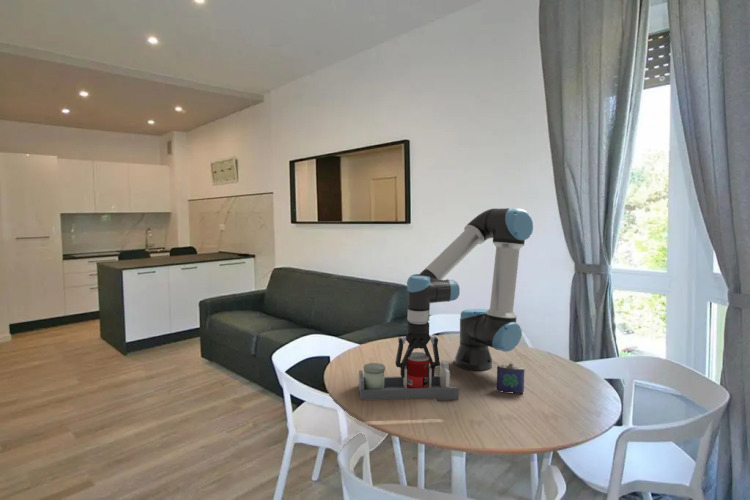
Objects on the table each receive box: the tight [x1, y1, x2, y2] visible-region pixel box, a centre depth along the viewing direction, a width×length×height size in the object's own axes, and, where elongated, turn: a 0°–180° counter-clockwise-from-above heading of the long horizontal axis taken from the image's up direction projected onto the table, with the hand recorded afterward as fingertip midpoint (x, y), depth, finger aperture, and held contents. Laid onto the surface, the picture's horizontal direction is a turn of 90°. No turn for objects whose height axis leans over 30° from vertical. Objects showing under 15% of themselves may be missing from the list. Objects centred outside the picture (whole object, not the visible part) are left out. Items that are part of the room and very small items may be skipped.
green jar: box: [363, 362, 386, 390], centre depth 147 cm, size 7×7×9 cm
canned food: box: [406, 351, 430, 388], centre depth 148 cm, size 8×8×11 cm
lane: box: [358, 369, 460, 401], centre depth 148 cm, size 33×12×7 cm, turn 95°
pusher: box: [439, 360, 451, 387], centre depth 149 cm, size 2×9×10 cm, turn 5°
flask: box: [496, 361, 526, 394], centre depth 150 cm, size 9×3×11 cm, turn 74°
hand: (417, 385), depth 148 cm, fingers closed on canned food, 8 cm apart
